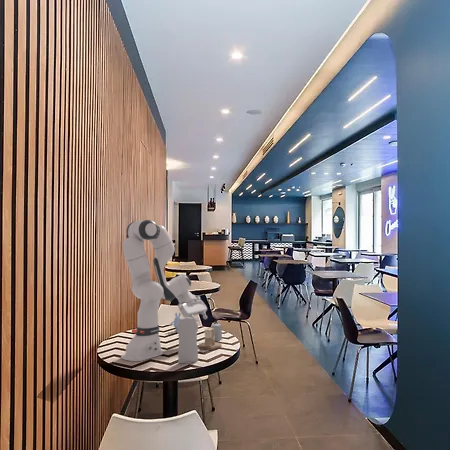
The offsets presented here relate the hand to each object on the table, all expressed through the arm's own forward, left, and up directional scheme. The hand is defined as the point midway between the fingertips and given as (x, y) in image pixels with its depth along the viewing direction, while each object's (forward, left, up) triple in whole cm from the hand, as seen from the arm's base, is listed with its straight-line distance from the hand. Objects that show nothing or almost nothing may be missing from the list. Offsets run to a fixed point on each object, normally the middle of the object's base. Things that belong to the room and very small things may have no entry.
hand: (201, 319), depth 222 cm
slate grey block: (+13, -2, -14) cm, 19 cm away
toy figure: (+20, +33, -14) cm, 41 cm away
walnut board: (-1, -6, -14) cm, 16 cm away
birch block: (-1, -6, -13) cm, 15 cm away
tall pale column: (-28, -11, -14) cm, 34 cm away
